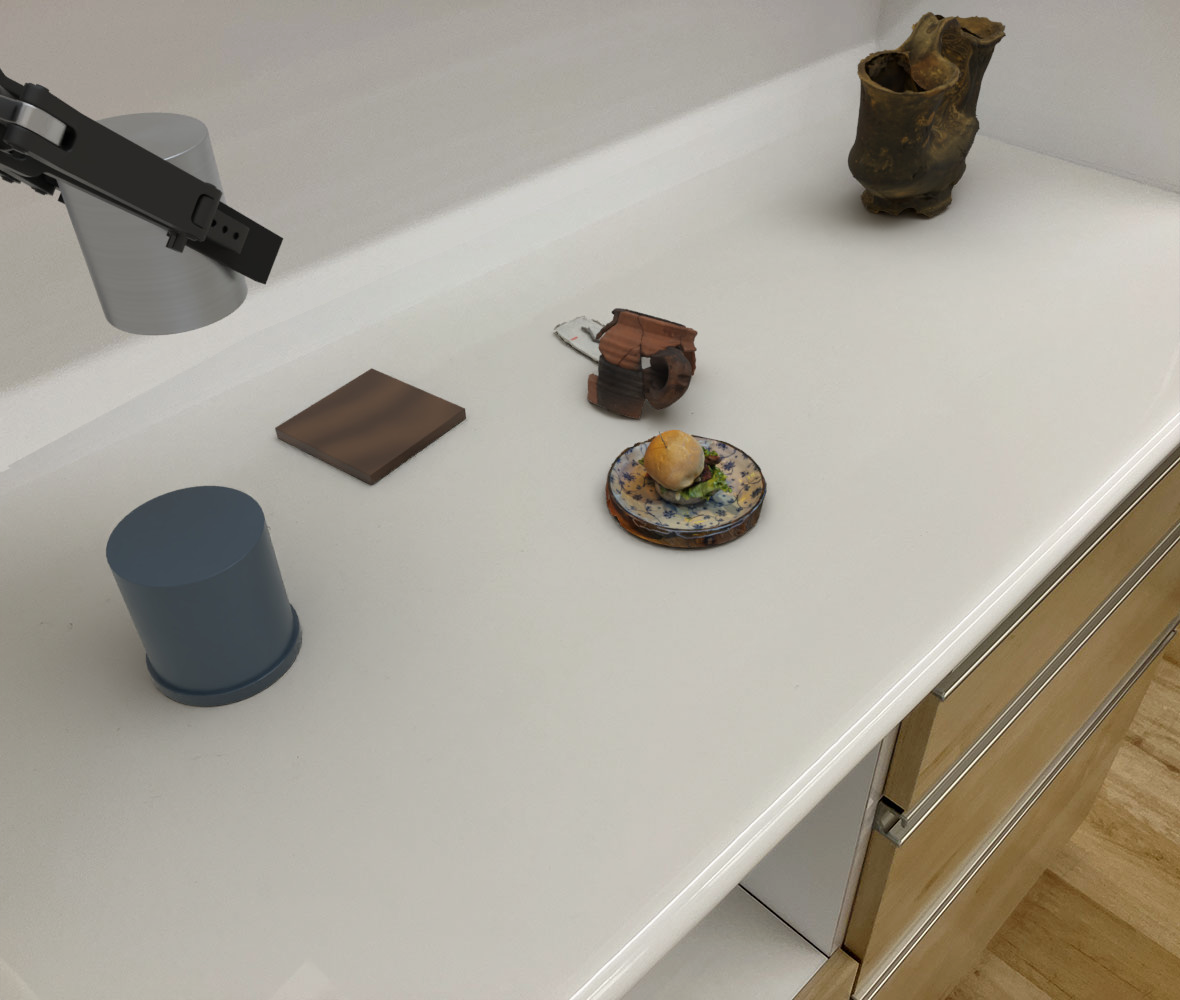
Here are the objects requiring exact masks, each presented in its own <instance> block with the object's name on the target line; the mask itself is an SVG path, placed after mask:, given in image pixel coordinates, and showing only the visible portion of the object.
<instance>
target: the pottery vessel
mask: <svg viewBox="0 0 1180 1000" xmlns="http://www.w3.org/2000/svg"><path fill="white" fill-rule="evenodd" d="M910 28H911V30H912V31H911V33H910V35H909V36H908V37H907V38H906V39H905V40H904V41H903V42H902V43H901V44H900V46H898V47H897V48H895V49H883V50H881V51H880V50H879V51H876V52H871V53H869V54H868V55H867V56H866V57H864V58H861V59H860V60H859V62H858V64H857V66H856V67H857V73H856V74H857V75H858V78H859V80H860V81H859V82H860V91H859V94H860V95H859V108H858V117H857V125H856V135H855V140H854V142H853V145H852V146H851V148H850V150H849V153H848V156H847V166H848V169H849V172H850V173H851V175H852V177H853V178H854V179H855V180H856V181H857V182H858V183H859V184H860V185H861V186H862V187H863V188H864V189H865V190H863V192H862V194H861V195H860V200H861V201H862V205H863V207H865V209H866V210H867V211H869V212H873V213H874V214H878V213H879V212H885V213H887V214H889V215H892V216H898V215H899V214H900V213H901V212H903V211H904V210H907V209H909V208H911V209H914V210H915V211H916V213H915V215H917V214H920V215H921V214H922V215H924V216H926V217H930V218H931V217H934V216H935V215H937V214H939V213H941V212H942V211H944V209H946V208H947V207H949V206H950V205H952V203H953V195H952V191H953V188H954V187H955V186H957V184H958V182H960V181H961V179H962V177H963V176H964V174H965V172H966V170H967V163H966V159H967V157H968V154H969V152H970V151H971V148H972V147H973V144H974V143H975V142H974V141H975V139H976V136H977V133H978V132H979V130H980V129H981V127H980V121H979V119H978V115H977V108H978V107H977V106H978V102H979V97H980V93H981V88H982V82H983V79H984V76H985V73H986V71H987V69H988V67H989V65H990V62H991V60H992V57H993V55H994V52H995V49H996V46H997V45H998V44H999V43H1000V42H1002V39H1003V38H1005V37H1006V36H1007V35H1006V32H1005V30H1006V25H1005V24H1003V22H1001V21H993V20H990V19H989V18H988V17H986V16H978V15H975V16H968V17H960V16H959V15H956V16H947V17H945V16H943V15H941V14H934V13H933V12H932V11H928V12H927V13H924V14H922V16H921V17H920V18H919V20H918V21H916V22H915V23H912V26H911V27H910Z"/></svg>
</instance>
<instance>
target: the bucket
mask: <svg viewBox="0 0 1180 1000" xmlns="http://www.w3.org/2000/svg"><path fill="white" fill-rule="evenodd" d="M105 547H106V548H105V557H106V561H107V564H108V566H109V569H110V570H111V574H112V576H113V578H114V581H115V583H116V586H117V587H118V589H119V592H120V595H121V598H122V599H123V601H124V604H125V606H126V608H127V611H128V613H129V615H130V618H131V619H132V623H133V625H134V627H135V629H136V632H137V634H138V637H139V639H140V641H141V643H142V646H143V648H144V651H145V664H146V668H147V671H148V673H149V676H150V678H151V680H152V683H153V684H154V686H155V687H156V688H157V690H159V691H160V693H162V694H163V696H166V697H167V698H169V699H170V700H172V701H175V702H178V704H179V703H180V704H183V705H187V706H194V707H218V706H224V705H229V704H233V703H237V702H240V701H243V700H245V699H248V698H251V697H253V696H255V695H257V694H259V693H260V692H263V691H264V690H266V689H267V688H269V687H271V686H272V685H273V684H274V683H276V682H277V681H278V680H279V679H280V678H282V677H283V675H285V673H286V672H287V671H289V669H290V668H291V666H292V665H293V663H294V662H295V660H296V659H297V657H298V654H299V652H300V649H301V647H302V641H303V631H302V625H301V622H300V618H299V615H298V613H297V610H296V609H295V607H294V605H292V603H290V600H289V597H288V594H287V593H288V592H287V590H286V587H285V583H284V579H283V576H282V572H281V569H280V566H279V561H278V558H277V555H276V552H275V548H274V544H273V542H272V537H271V534H270V531H269V528H268V524H267V520H266V516H265V513H264V511H263V508H262V506H261V505H260V503H258V501H257V500H256V499H254V497H252V496H251V495H249V494H248V493H246V492H244V491H241V490H239V489H235V488H233V487H228V486H221V485H198V486H197V485H195V486H189V487H185V488H180V489H175V490H173V491H169V492H166V493H163V494H161V495H158V496H156V497H154V498H152V499H149V500H146V502H144V503H142V504H140V505H139V506H137V507H136V508H134V509H132V510H131V511H130V512H128V513H127V514H126V515H125V516H124V517H123V518H122V519H121V520H120V521H119V522H118V523H117V524H116V526H115V527H114V528H113V530H112V531H111V533H110V535H109V538H108V539H107V543H106V546H105Z"/></svg>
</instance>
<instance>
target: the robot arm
mask: <svg viewBox="0 0 1180 1000" xmlns="http://www.w3.org/2000/svg"><path fill="white" fill-rule="evenodd" d="M96 121H97V120H94V119H93V118H91V117H89V116H88V115H85V114H83V113H82V112H80V111H78V110H77V109H76V108H74V107H73V106H71V105H70V104H68V103H66V101H64V100H62V99H61V98H59V97H57V96H56V95H54V94H53V93H51V92H50V89H49V88H48V87H46V86H43V85H41V84H40V83H39V84H38V83H36V84H34V83H32V82H24V84H22V83H19V82H17V81H16V80H14V79H12V78H10V77H8V76H7V75H6V74H5V73H4V71H3V70H2V69H1V68H0V178H1V180H2V181H4V182H6V183H9V184H14V183H15V184H19V185H21V184H25V185H26V186H29V187H30V188H31V189H32V190H34V192H35V193H37V194H39V195H42V196H48V195H49V196H51V197H54V194H55V192H56V191H59V192H60V193H59V195H58V199H57V202H59V203H61V204H63V205H65V202H64V200H63V197H62V194H61V191H60V188H59V185H58V183H57V180H59V181H61V182H63V183H65V184H68V185H70V186H72V187H74V188H76V189H78V190H81V191H83V192H85V193H87V194H89V195H91V196H93V197H96V198H98V199H100V200H102V201H104V202H106V203H109V204H111V205H113V206H115V207H117V208H119V209H122V210H124V211H126V212H128V213H130V214H132V215H134V216H137V217H139V218H141V219H143V220H145V221H147V222H150V223H152V224H154V225H156V226H158V227H160V228H163V229H165V230H167V231H168V232H167V235H166V236H168V237H169V239H168V242H167V244H166V247H167V248H169V249H172V250H174V251H177V252H180V253H183V250H184V247H185V245H186V246H188V247H189V248H191V249H193V250H195V251H197V252H199V253H201V254H203V255H205V256H207V257H209V258H211V259H213V260H215V261H217V262H219V263H221V264H223V265H225V266H227V267H229V268H230V269H232V270H234V271H236V272H238V273H240V274H242V275H244V276H245V278H248V279H250V280H252V281H254V282H256V283H259V284H262V285H266V284H267V282H268V279H269V277H270V274H271V271H272V269H273V267H274V264H275V263H276V262H275V261H276V258H277V256H278V253H279V251H280V249H281V246H282V244H283V241H284V237H282V236H280V235H279V234H277V233H276V232H273V231H271V230H270V229H268V228H267V227H265V226H263V225H261V224H260V223H259V222H257V221H256V220H253V219H252V218H250V217H248V216H246V215H245V214H244V213H243V214H242V213H241V212H240V211H238V210H236V209H234V208H233V207H231V206H229V204H227V203H226V204H227V205H226V204H224V203H223V202H221V201H220V199H221V196H222V194H223V193H222V192H221V190H219V189H217V188H216V186H214V185H212V184H210V183H207V182H206V183H205V182H203V181H201V180H200V179H198V178H196V177H194V176H193V175H191V174H189V173H187V172H185V171H184V170H182V169H180V168H178V167H176V166H175V165H173V164H171V163H169V162H168V161H166V160H164V159H162V158H160V157H159V156H157V155H155V154H153V153H151V152H150V151H148V150H146V149H144V148H142V147H141V146H139V145H137V144H135V143H134V142H132V141H130V140H128V139H126V138H125V137H123V136H121V135H119V134H117V133H116V132H114V131H112V130H110V129H109V128H107V127H105V126H103V125H101V124H100V123H98V122H96ZM56 179H57V180H56Z"/></svg>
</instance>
